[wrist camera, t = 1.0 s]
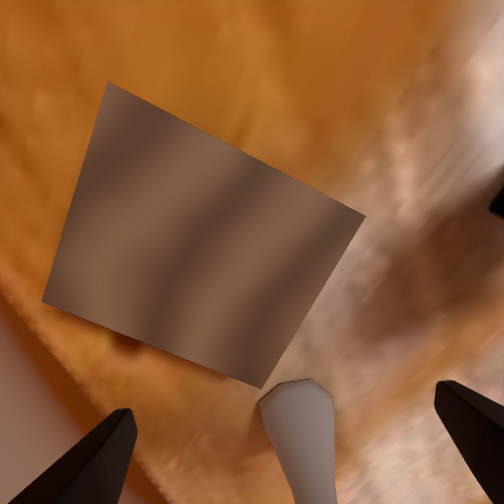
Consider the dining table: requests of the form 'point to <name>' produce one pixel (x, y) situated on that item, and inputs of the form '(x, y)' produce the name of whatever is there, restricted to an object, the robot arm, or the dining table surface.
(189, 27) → the dining table surface
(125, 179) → the walnut shelf
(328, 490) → the flask
